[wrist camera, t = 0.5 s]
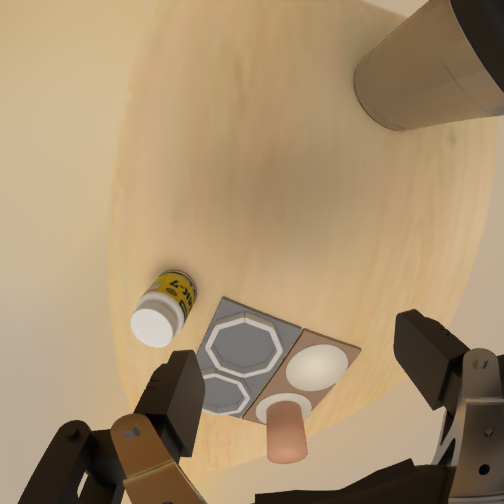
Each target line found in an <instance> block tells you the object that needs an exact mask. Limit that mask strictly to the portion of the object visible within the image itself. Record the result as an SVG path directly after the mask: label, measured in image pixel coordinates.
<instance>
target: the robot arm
mask: <svg viewBox="0 0 504 504" xmlns="http://www.w3.org/2000/svg"><path fill="white" fill-rule="evenodd" d="M354 85H355V90H356V94H357V97H358V99H359V101H360V103H361V105H362V106H363V108H364V109H365V111H366V112H367V113H368V114H369V115H370V116H371V117H372V118H373V119H374V120H375V121H377V122H378V123H379V124H381V125H383V126H385V127H387V128H389V129H392V130H397V131H405V130H410V129H415V128H421V127H427V126H432V125H437V124H443V123H449V122H455V121H462V120H468V119H476V118H483V117H492V116H500V115H504V0H429V1H428V2H427V3H426V4H424V5H423V6H422V7H421V8H420V9H418V10H417V11H416V12H415V13H414V14H413V15H412V16H410V17H409V18H408V19H407V20H406V21H405V22H403V23H402V24H401V25H400V26H399V27H398V28H397V29H396V30H394V31H393V32H392V33H391V34H390V35H389V36H388V37H387V38H386V39H385V40H384V41H382V42H381V43H380V44H379V45H378V46H377V47H376V48H375V49H374V50H373V51H372V52H371V53H369V54H368V55H367V56H366V57H365V58H364V59H363V60H362V61H361V62H360V64H359V65H358V67H357V69H356V71H355V76H354ZM394 354H395V357H396V360H397V361H398V362H399V364H400V365H401V366H402V368H403V369H404V371H405V372H406V373H407V375H408V376H409V377H410V379H411V380H412V381H413V383H414V384H415V386H416V387H417V388H418V390H419V391H420V392H421V394H422V395H423V397H424V398H425V400H426V401H427V403H428V404H429V405H430V407H431V408H432V410H433V411H434V410H436V409H438V408H440V407H442V406H444V407H445V408H446V410H445V413H444V417H443V422H442V428H441V432H440V437H439V441H438V445H437V450H436V453H435V456H434V459H433V461H432V463H431V465H418V466H414V464H413V461H412V459H411V458H410V459H407V460H405V461H402V462H400V463H397V464H395V465H392V466H389V467H387V468H384V469H381V470H378V471H376V472H374V473H372V474H370V475H368V476H367V477H365V478H363V479H361V480H359V481H357V482H355V483H353V484H351V485H349V486H347V487H345V488H343V489H340V490H330V491H309V490H307V491H306V490H292V491H284V492H275V493H263V494H255V503H252V504H504V355H500V356H496V355H495V354H494V353H493V352H491V351H489V350H487V349H482V348H476V349H472V350H470V349H469V348H468V347H467V346H466V345H465V344H464V343H462V342H461V341H460V340H459V339H458V338H457V337H456V336H454V335H453V334H451V333H450V331H449V330H447V329H445V327H444V326H443V325H441V324H440V323H439V322H438V321H436V320H433V319H431V318H428V317H426V318H425V317H424V316H423V315H422V314H421V313H419V312H418V311H417V310H416V309H412V310H409V311H405V312H402V313H399V314H397V316H396V323H395V336H394ZM204 398H205V382H204V379H203V376H202V373H201V370H200V367H199V364H198V361H197V358H196V355H195V353H194V351H193V350H180V351H173V352H172V354H171V356H170V359H169V361H168V363H167V364H162V365H161V366H160V367H158V368H157V369H156V370H155V371H154V372H153V374H152V376H151V378H150V382H148V384H147V386H146V389H145V390H144V392H143V394H142V396H141V398H140V400H139V402H138V404H137V406H136V408H135V410H134V412H133V414H128V415H125V416H123V417H121V418H119V419H118V420H116V421H115V422H114V424H113V425H112V427H111V429H107V430H97V431H92V430H91V429H90V428H89V426H88V425H87V424H86V423H85V422H83V421H80V420H74V421H70V422H68V423H65V424H64V425H62V426H61V427H60V428H59V430H58V432H57V433H56V434H55V436H54V438H53V440H52V441H51V443H50V444H49V446H48V448H47V450H46V451H45V453H44V455H43V457H42V458H41V460H40V462H39V464H38V466H37V467H36V469H35V471H34V473H33V475H32V476H31V478H30V480H29V482H28V485H27V486H26V488H25V490H24V492H23V494H22V496H21V498H20V500H19V502H18V504H121V501H122V497H123V494H124V490H125V489H126V492H127V494H128V496H129V498H130V501H131V502H132V504H208V503H207V502H206V501H205V500H204V498H203V497H202V496H201V495H200V494H199V492H198V491H197V489H196V488H195V487H194V486H193V484H192V483H191V481H190V480H189V479H188V477H187V476H186V474H185V473H184V472H183V470H182V469H181V467H180V466H179V465H178V464H179V460H180V457H192V452H193V448H194V443H195V438H196V434H197V429H198V425H199V420H200V416H201V411H202V407H203V402H204ZM84 472H85V473H86V474H87V475H88V477H87V479H86V481H85V484H84V486H83V489H82V491H81V494H80V497H79V498H78V494H77V490H78V486H79V484H80V482H81V479H82V477H83V475H84Z"/></svg>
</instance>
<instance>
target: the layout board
mask: <svg viewBox="0 0 504 504" xmlns="http://www.w3.org/2000/svg"><path fill="white" fill-rule="evenodd" d="M300 331H301V327H298V326H296V325H293V324H290V323H288V322H285V321H283V320H280V319H277V318H275V317H272V316H270V315H267V314H264V313H262V312H259V311H257V310H254V309H252V308H249V307H247V306H244V305H242V304H240V303H237V302H235V301H232V300H230V299H227V298H225V297H223V298H222V300H221V302H220V304H219V306H218V309H217V311H216V313H215V315H214V317H213V320H212V322H211V324H210V326H209V328H208V330H207V333H206V335H205V337H204V339H203V341H202V344H201V346H200V348H199V350H198V353H197V355H196V358H197V361H198V364H199V367H200V370H201V373H202V376H203V379H204V382H205V398H204V402H203V407H202V411H204V412H207V413H210V414H213V415H216V416H223V415H230V416H234V417H237V418H240V417H241V416H242V415H243V413H244V412H245V411H246V409H247V408H248V407H249V405H250V404H251V403H252V401H253V400H254V399H255V397H256V396H257V395H258V393H259V392H260V390H261V389H262V388H263V386H264V385H265V383H266V382H267V381H268V379H269V378H270V376H271V375H272V374H273V372H274V371H275V369H276V368H277V366H278V365H279V363H280V362H281V360H282V359H283V357H284V356H285V354H286V353H287V351H288V350H289V348H290V347H291V345H292V344H293V342H294V341H295V339H296V338H297V336H298V335H299V333H300ZM361 351H362V350H361V348H358V347H355V346H352V345H349V344H346V343H343V342H340V341H338V340H335V339H332V338H329V337H326V336H323V335H320V334H318V333H315V332H312V331H309V330H307V329H303V331H302V332H301V334H300V335H299V337H298V339H297V340H296V342H295V343H294V345H293V346H292V348H291V349H290V351H289V352H288V354H287V355H286V357H285V358H284V360H283V361H282V363H281V364H280V366H279V367H278V368H277V370H276V371H275V373H274V374H273V376H272V377H271V378H270V380H269V381H268V383H267V384H266V385H265V387H264V388H263V390H262V391H261V392H260V394H259V395H258V396H257V398H256V399H255V400H254V402H253V403H252V404H251V406H250V407H249V408H248V410H247V411H246V412H245V414H244V415H243V416H242V419H244V420H248V421H252V422H256V423H260V424H264V425H267V458H268V460H269V461H271V462H273V463H277V464H290V463H295V462H298V461H301V460H302V459H304V458H305V457H306V456H307V455H308V451H307V443H306V436H305V430H304V423H303V420H304V419H305V418H306V417H307V416H308V415H309V414H310V412H311V411H312V410H313V409H314V408H315V407H316V406H317V405H318V404H319V402H320V401H321V400H322V399H323V398H324V397H325V396H326V395H327V393H328V392H329V391H330V390H331V389H332V388H333V386H334V385H335V384H336V383H337V382H338V381H339V380H340V379H341V378H342V377H343V375H344V374H345V372H346V370H347V369H348V368H349V367H350V365H351V364H352V363H353V361H354V360H355V359H356V358H357V356H358V355H359V354H360V352H361Z"/></svg>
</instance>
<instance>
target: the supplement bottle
mask: <svg viewBox="0 0 504 504" xmlns="http://www.w3.org/2000/svg"><path fill="white" fill-rule="evenodd" d="M196 294H197V292H196V287H195V284H194V282H193V281H192V280H191V279H190V277H188V276H187V275H186V274H184V273H182V272H180V271H167V272H165V273H163V274H162V275H161V276H160V277H159V278H158V279H157V280H156V281H155V282H154V283H153V284H152V285H151V287H150V288H149V289H148V290H147V291H146V292H145V293H144V295H143V296H142V297H141V298H140V299H139V301H138V303H137V307H136V311H135V312H134V313H133V315H132V317H131V321H130V324H131V329H132V331H133V333H134V335H135V336H136V337H137V339H138V340H139V341H141V342H142V343H144V344H145V345H147V346H150V347H155V348H160V347H164V346H166V345H168V344H169V343H170V342H171V340H172V339H173V337H174V336H175V335H176V334H178V333H179V332H180V331H181V329H182V328H183V326H184V324H185V321H186V319H187V317H188V315H189V313H190V310H191V308H192V306H193V304H194V302H195V299H196Z"/></svg>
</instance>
